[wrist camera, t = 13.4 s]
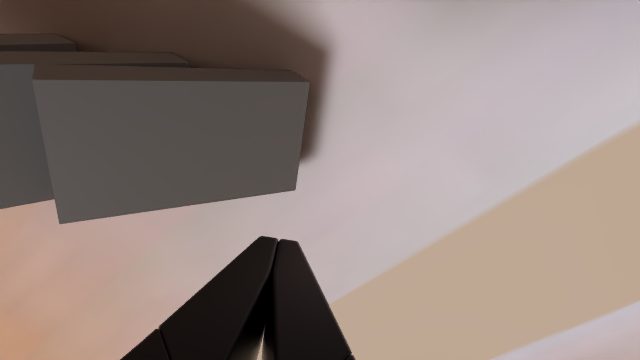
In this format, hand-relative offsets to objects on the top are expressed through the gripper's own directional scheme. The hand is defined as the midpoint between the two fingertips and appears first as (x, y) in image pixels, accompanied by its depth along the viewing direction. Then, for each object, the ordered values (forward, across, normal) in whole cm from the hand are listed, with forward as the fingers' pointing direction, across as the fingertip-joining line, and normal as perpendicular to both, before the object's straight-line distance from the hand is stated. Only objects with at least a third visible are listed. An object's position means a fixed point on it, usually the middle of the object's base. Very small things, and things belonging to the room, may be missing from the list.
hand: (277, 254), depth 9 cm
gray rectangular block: (+8, 0, 0) cm, 8 cm away
